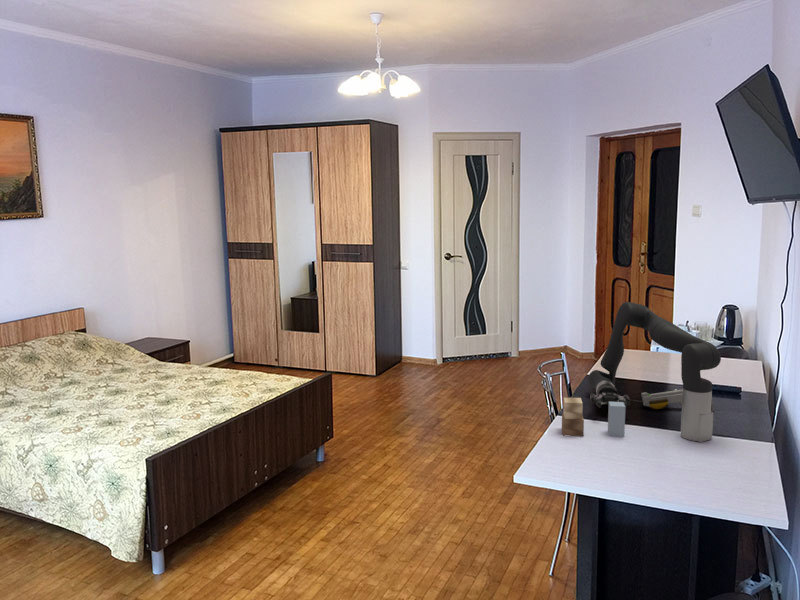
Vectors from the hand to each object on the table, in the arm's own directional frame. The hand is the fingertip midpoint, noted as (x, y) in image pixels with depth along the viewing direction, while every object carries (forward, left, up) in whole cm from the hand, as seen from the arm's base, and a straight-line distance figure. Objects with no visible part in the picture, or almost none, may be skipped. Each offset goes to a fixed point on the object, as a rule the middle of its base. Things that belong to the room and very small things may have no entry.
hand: (612, 405), depth 244 cm
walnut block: (0, +19, -7) cm, 20 cm away
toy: (-2, -33, -7) cm, 34 cm away
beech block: (0, +19, -1) cm, 19 cm away
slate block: (-9, +7, -7) cm, 13 cm away
